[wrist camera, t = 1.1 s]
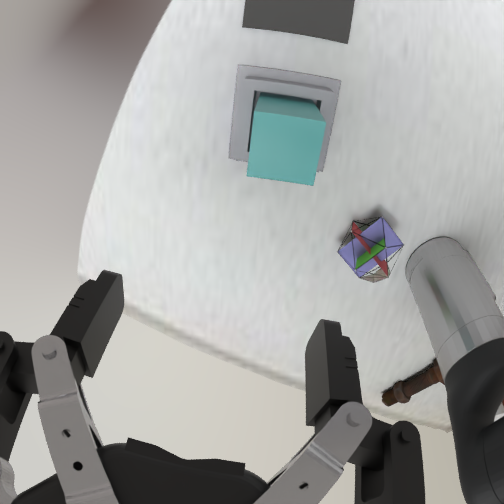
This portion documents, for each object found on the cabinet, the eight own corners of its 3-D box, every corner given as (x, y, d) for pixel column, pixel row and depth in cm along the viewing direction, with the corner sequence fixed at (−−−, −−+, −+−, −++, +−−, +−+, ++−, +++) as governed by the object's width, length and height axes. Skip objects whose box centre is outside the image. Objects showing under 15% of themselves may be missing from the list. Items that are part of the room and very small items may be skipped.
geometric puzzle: (317, 233, 36) (352, 295, 33) (364, 195, 33) (405, 257, 29) (343, 241, 42) (374, 293, 38) (383, 209, 38) (418, 262, 35)
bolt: (380, 384, 62) (439, 352, 54) (392, 399, 61) (450, 368, 53) (376, 401, 57) (440, 368, 49) (388, 416, 56) (451, 385, 48)
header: (340, 80, 28) (347, 84, 25) (322, 169, 34) (326, 183, 31) (238, 64, 28) (234, 66, 25) (229, 156, 34) (224, 168, 31)
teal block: (311, 99, 29) (326, 122, 21) (303, 145, 32) (313, 185, 24) (260, 91, 29) (254, 111, 21) (255, 138, 32) (246, 176, 24)
